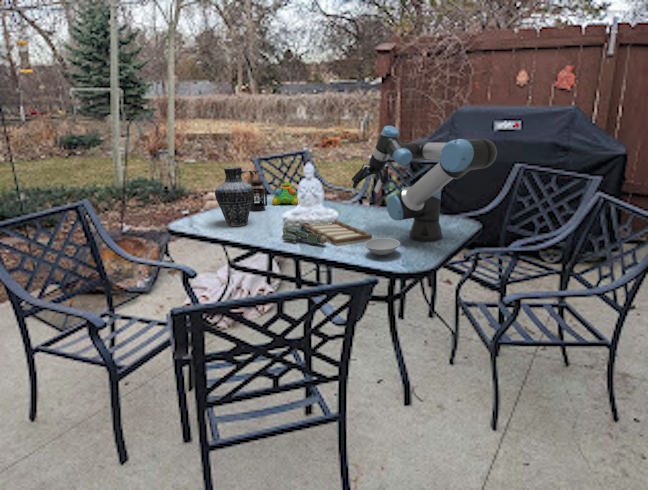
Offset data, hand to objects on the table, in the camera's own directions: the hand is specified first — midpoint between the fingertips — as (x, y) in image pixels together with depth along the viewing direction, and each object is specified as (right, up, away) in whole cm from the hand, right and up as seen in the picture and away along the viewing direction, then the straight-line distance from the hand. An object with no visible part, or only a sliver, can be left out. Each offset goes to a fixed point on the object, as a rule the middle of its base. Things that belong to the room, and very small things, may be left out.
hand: (364, 192), depth 246 cm
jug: (-65, -15, +14) cm, 69 cm away
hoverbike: (-29, -25, -19) cm, 43 cm away
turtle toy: (-44, 0, +67) cm, 80 cm away
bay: (-15, -21, -5) cm, 26 cm away
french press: (-59, -6, +46) cm, 75 cm away
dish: (+4, -30, -38) cm, 48 cm away
